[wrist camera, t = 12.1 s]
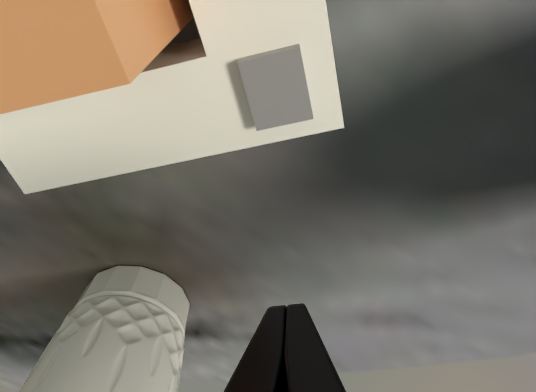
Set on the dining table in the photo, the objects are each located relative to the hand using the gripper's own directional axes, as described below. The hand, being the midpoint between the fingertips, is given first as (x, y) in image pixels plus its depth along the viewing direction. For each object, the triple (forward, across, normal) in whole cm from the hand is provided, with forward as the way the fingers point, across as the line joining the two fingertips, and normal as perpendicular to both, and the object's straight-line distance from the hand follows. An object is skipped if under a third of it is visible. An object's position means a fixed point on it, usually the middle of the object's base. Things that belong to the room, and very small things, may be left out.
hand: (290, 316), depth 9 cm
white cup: (+12, +12, +11) cm, 20 cm away
